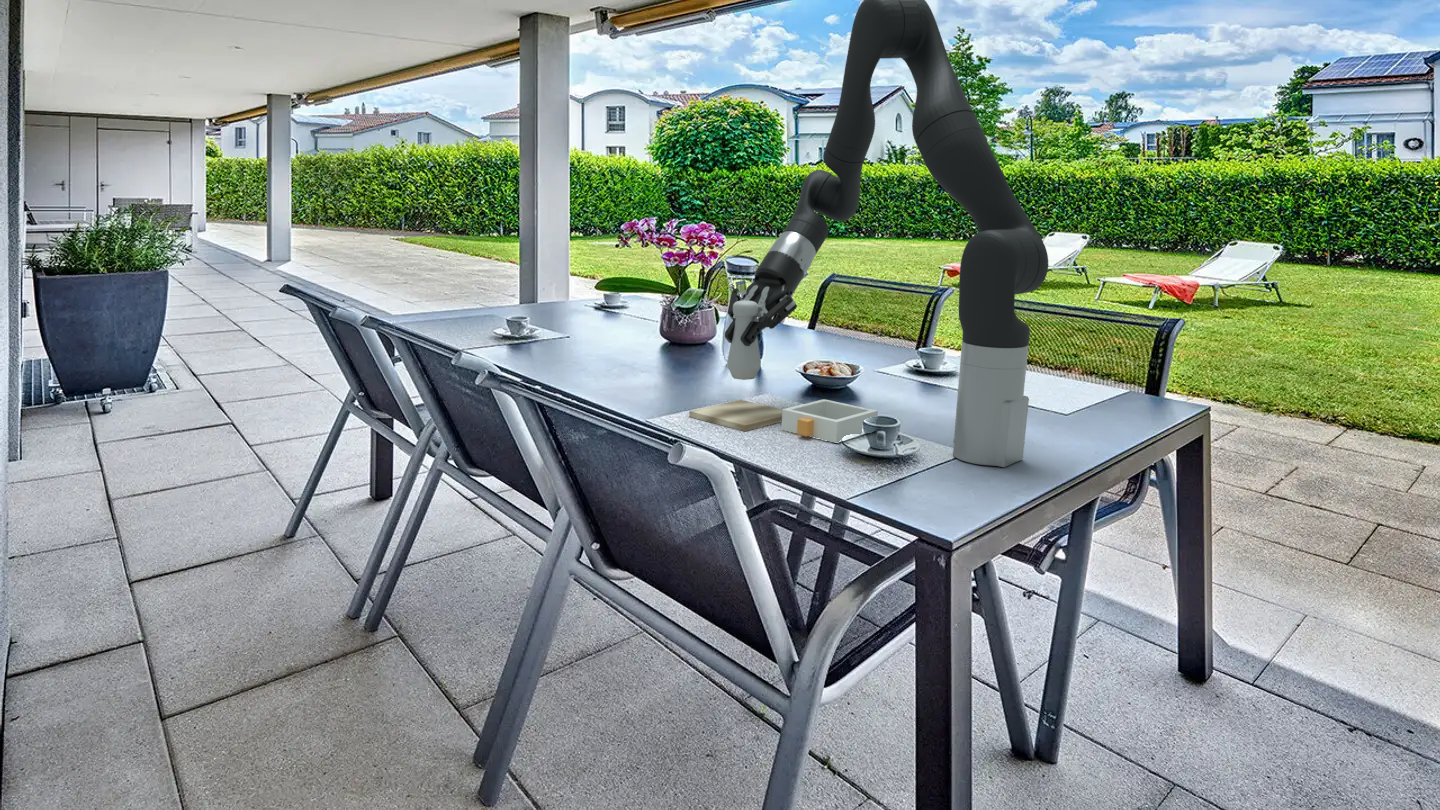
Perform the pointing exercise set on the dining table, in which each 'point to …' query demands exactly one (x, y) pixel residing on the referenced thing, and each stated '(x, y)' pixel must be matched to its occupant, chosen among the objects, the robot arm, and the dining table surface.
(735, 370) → the salt shaker
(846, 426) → the pale grey open tray
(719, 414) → the oak board
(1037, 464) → the dining table surface
